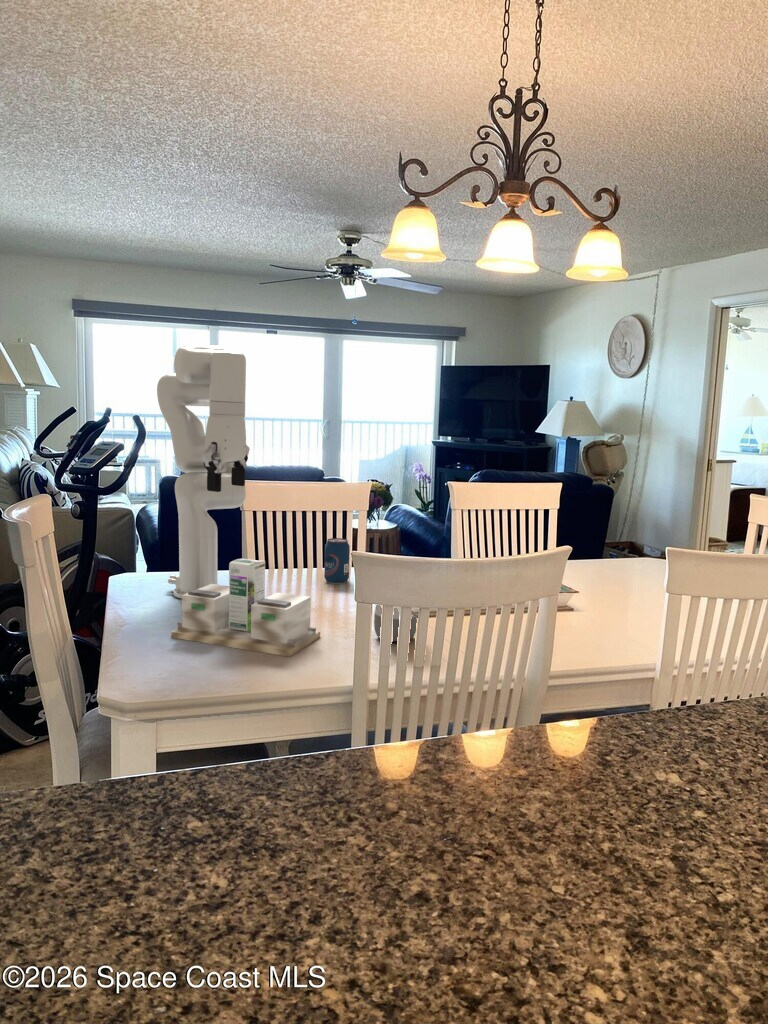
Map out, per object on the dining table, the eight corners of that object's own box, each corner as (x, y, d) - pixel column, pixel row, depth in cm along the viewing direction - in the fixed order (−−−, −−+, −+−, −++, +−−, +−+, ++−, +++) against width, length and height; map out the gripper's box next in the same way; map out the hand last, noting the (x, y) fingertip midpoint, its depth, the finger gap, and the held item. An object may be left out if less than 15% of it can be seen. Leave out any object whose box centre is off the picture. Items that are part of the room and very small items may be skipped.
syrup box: (227, 629, 155) (227, 562, 153) (242, 622, 161) (242, 556, 159) (251, 633, 153) (251, 564, 151) (265, 625, 159) (266, 559, 157)
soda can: (319, 581, 207) (320, 539, 206) (334, 577, 213) (335, 536, 211) (338, 585, 203) (339, 543, 202) (353, 581, 209) (354, 539, 207)
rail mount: (171, 637, 155) (170, 593, 154) (208, 620, 168) (208, 579, 167) (289, 656, 146) (290, 609, 144) (320, 636, 159) (321, 593, 157)
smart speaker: (422, 644, 156) (425, 579, 154) (380, 646, 153) (382, 581, 151) (408, 630, 165) (410, 569, 163) (368, 633, 162) (370, 571, 160)
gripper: (233, 407, 168) (232, 481, 171) (189, 409, 152) (188, 491, 155) (262, 409, 165) (261, 485, 169) (220, 412, 149) (219, 495, 153)
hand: (226, 488), depth 162 cm, fingers open, 9 cm apart
